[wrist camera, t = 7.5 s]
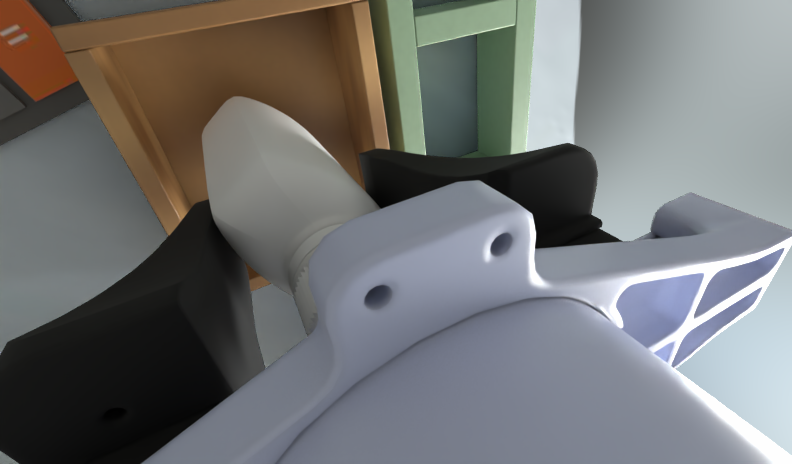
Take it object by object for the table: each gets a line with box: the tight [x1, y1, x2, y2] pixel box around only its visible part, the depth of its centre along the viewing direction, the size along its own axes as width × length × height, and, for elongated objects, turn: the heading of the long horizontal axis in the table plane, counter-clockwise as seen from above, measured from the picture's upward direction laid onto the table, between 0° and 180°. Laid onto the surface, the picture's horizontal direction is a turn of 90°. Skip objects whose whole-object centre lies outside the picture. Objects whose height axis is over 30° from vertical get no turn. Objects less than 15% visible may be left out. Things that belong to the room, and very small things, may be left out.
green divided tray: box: [367, 0, 536, 158], centre depth 18 cm, size 18×8×3 cm, turn 9°
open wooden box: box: [50, 0, 390, 291], centre depth 17 cm, size 11×10×4 cm
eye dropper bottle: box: [202, 96, 381, 336], centre depth 11 cm, size 4×6×12 cm
